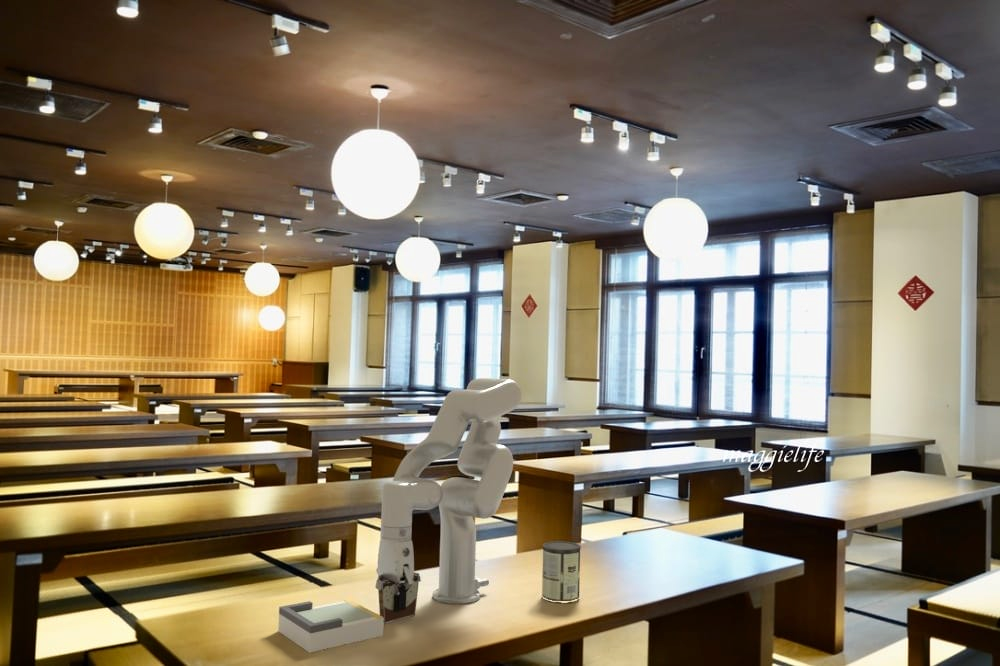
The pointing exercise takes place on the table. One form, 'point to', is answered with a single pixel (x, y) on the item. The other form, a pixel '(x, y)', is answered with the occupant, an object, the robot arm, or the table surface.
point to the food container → (387, 598)
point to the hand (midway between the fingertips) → (392, 606)
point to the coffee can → (561, 571)
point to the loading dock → (328, 624)
